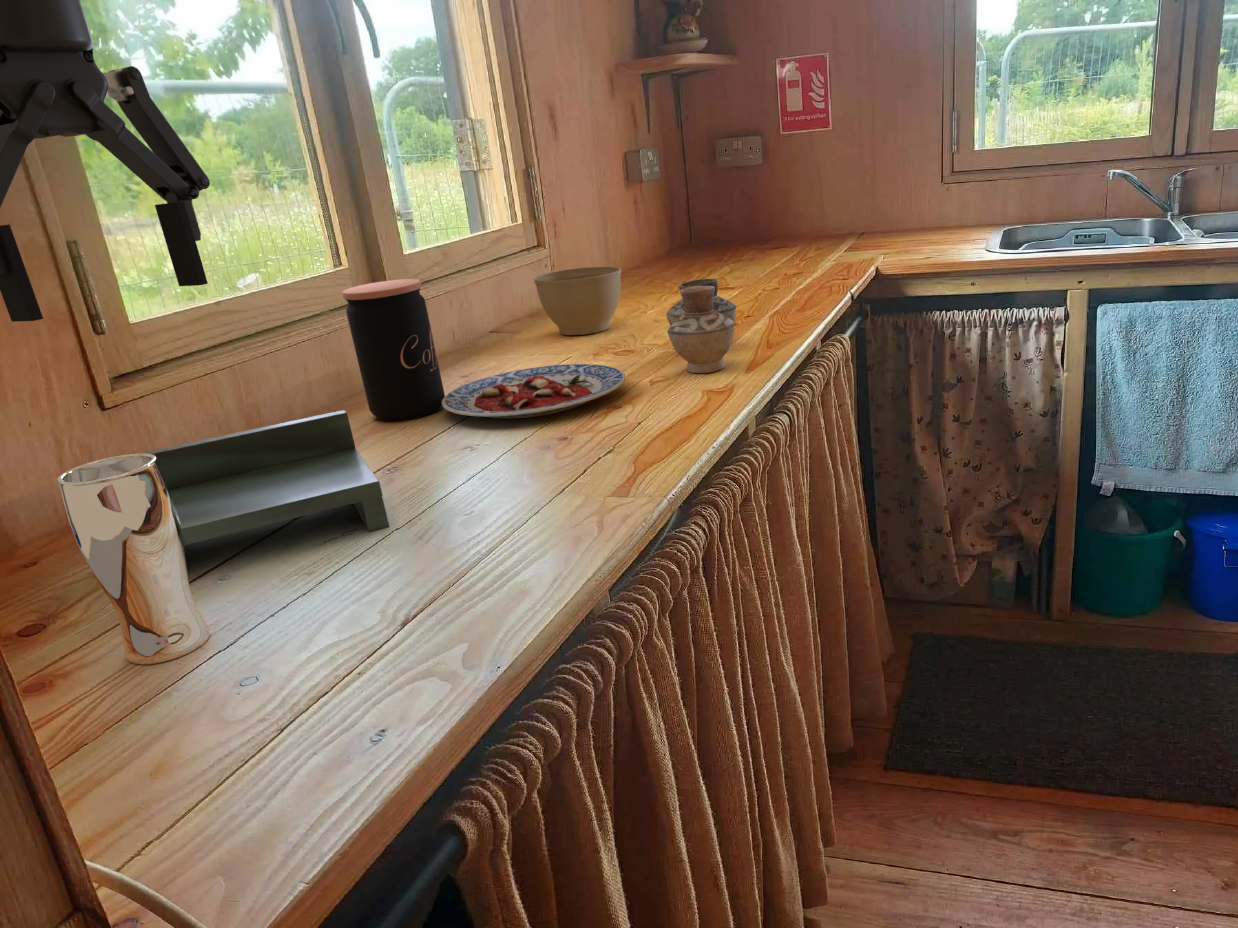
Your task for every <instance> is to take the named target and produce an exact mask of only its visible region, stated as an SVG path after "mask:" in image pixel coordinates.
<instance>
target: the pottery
mask: <svg viewBox="0 0 1238 928" xmlns="http://www.w3.org/2000/svg"><path fill="white" fill-rule="evenodd" d="M718 286H719V285H718V279H716V278H698V279H692V280H687V281H683V282H680V283H679V284H678V290H679V293H680V296H681V299H680V300H678V301H677V302H676V303H674V305H672V307H671V308H669V309H668V310H667V312H666V319H667V321H668V322H667V323H668V324H669V326H670V327H669V328H667V331H666V332H667V335H668V338H669V340H670V342H671V345H672V347H673V348H674V350H675V351H676V353H677V354H678V355H679V356H680V357H681V358H682V359H683V360H684V361H686V362H687V363H686V366H687V367H686V372H688V373H692V374H708V373H713V372H717V371H721V370H723V369H725V367H726V363H725V360H724V357H726V355H727V354H728V352H729V351H730V348H731V345H732V343H733V339H734V334H735V327H736V326H735V325H736V323H735V320H736V317H737V305H736V304H735V303H733V302H732V301H730V300H728V299H725V298H724V297H722V296H719V295H718V291H719V287H718Z"/></svg>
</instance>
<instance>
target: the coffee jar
mask: <svg viewBox="0 0 1238 928" xmlns="http://www.w3.org/2000/svg"><path fill="white" fill-rule="evenodd" d="M421 288H422V281H421V279H418V278H401V279H390V280H384V281H383V280H382V281H377V282H376V281H375V282H371V283H365V284H360V285H356V286H352V287H349V288H346V289H344V290H342V291H341V295H342V298H343V299H344V300H345V301H346V302H347V307H346V309H345V313H346V317H347V318H346V319H347V321H348V327H349V330H350V335H351V337H352V342H353V347H354V351H355V355H356V360H357V363H358V368H359V372H360V376H361V380H362V385H363V388H364V392H365V398H366V401H367V405H368V409H369V412H371V414H372V415H373V416H374V417H375V418H376V419H377V420H378V421H382V422H402V421H409V420H410V421H411V420H414V419H419V418H422V417H426V416H430V415H432V414H434V413H436V412H437V413H438V412H439V411H440V410H441V409H443V408H442V407H443V406H442V400H443V398H444V397H445V396H446V395H445V390H444V385H443V380H442V379H443V378H442V375H441V371H440V365H439V361H438V356H437V352H436V351H437V350H436V347H435V341H434V337H433V331H432V327H431V323H430V322H431V321H430V318H429V313H428V308H427V303H426V299H425V297H424V296H423V295H422V294H421V293H420V290H421Z"/></svg>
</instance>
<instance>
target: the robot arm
mask: <svg viewBox="0 0 1238 928" xmlns="http://www.w3.org/2000/svg"><path fill="white" fill-rule="evenodd" d="M86 18H87V17H86V14H85V11H84V9H83V5H82V2H81V0H0V208H1V207H2V205H3V203H4V201H5V199H6V196H7V193H8V191H9V189H10V187H11V184H12V182H13V180H14V178H15V175H16V173H17V171H18V169H19V166H20V164H21V162H22V160H23V157H24V155H25V153H26V151H27V148H28V146H29V144H31V143H32V142H33V141H34V140H36V139H46V138H47V139H48V138H51V137H52V138H53V137H58V136H60V137H65V138H66V137H79V136H83V135H85V136H86V137H88V138H89V139H91V140H92V141H96V142H98V143H99V144H100V145H101V146H102V147H104V148H105V149H106V150H107V151H108V152H109V153H110V154H111V155H113V157H115V158H116V159H117V160H118V161H119V162H121V163H122V164H123V166H125V167H126V168H127V169H129V170H130V171H131V172H132V173H133V174H134V175H135V176H136V177H137V178H139V179H140V180H141V181H142V182H143V183H144V184H145V185H146V186H148V187H149V188H150V189H151V190H152V191H153V192H154V193H155V194H157V196H159V197H160V198H161V199H162V200H163V201H165V202H166V203H158V204H154V208H155V211H156V214H157V217H158V221H159V225H160V227H161V231H162V234H163V238H164V241H165V244H166V247H167V251H168V255H169V257H170V261H171V264H172V267H173V270H174V274H175V277H176V280H177V281H176V282H177V285H178V287H196V286H203V285H209V283H208V282H209V281H208V279H207V276H206V272H205V268H204V265H203V262H202V259H201V255H200V251H199V248H198V245H197V242H199V241H201V240H202V233H201V229H200V227H199V221H198V218H197V215H196V212H195V208H194V205H193V200H197V199H198V198H199V196H200V192H201V191H202V190H207V189H208V188H209V187H210V184H211V181H210V179H209V176H208V175H207V174H206V172H205V171H204V170H203V168H202V167H201V165H200V164H199V162H198V161H197V160H196V159H195V158H194V156H193V154H192V153H191V152H190V150H189V149H188V147H187V146H186V145H185V143H184V142H183V140H182V139H181V138H180V136H179V135H178V134H177V132H176V131H175V130H174V128H173V126H172V125H171V124H170V122H169V121H168V119H167V118H166V117H165V116H164V114H163V113H162V112H161V109H159V107H158V106H157V104H156V103H155V102H154V100H153V98H151V95H150V92H149V90H148V88H147V86H146V83H145V79H144V78H143V75H142V72H141V71H140V70H139V68H137V67H136V66H134V65H130V66H125V67H121V68H116V69H112V70H110V71H108V72H107V71H106V72H102V70H101V69H100V68H99V67H98V64H97V63H96V61H95V58H94V41H93V38H92V35H91V31H90V28H89V25H88V22H87V19H86ZM107 95H108V97H109V98H110V99H113V100H114V101H116V102H117V104H118V107H119V108H120V109H121V111H122V112H123V114H124V115H125V117H126V119H128V121H129V122H130V123H131V125H132V126H133V127H134V129H135V130H136V132H137V133H138V135H140V137H141V138H142V139H143V141H144V142H145V143H146V144H147V145H146V144H145V143H144V142H142V141H141V140H140V138H138V137H137V136H136V135H135V134H134V133H133V132H132V131H131V130H130V129H129V128H127V127H126V122H125V120H123V119H122V118H121V117H120V116H119V115H118V114H117V113H116V112H115V111H114V110H112V108H111V107H110V106H108V105H107V103H105V99H106V96H107ZM0 294H1V296H2V299H3V302H4V305H5V307H6V310H7V313H8V316H9V317H10V321H11V322H12V323H13V322H34V321H40V320H44V316H43V314H42V311H41V307H40V306H39V302H38V299H37V297H36V294H35V291H34V289H33V286H32V282H31V280H30V277H29V274H28V272H27V269H26V266H25V264H24V260H23V258H22V254H21V252H20V249H19V246H18V243H17V241H16V238H15V235H14V233H13V230H12V226H11V224H8V223H7V224H1V225H0Z"/></svg>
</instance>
